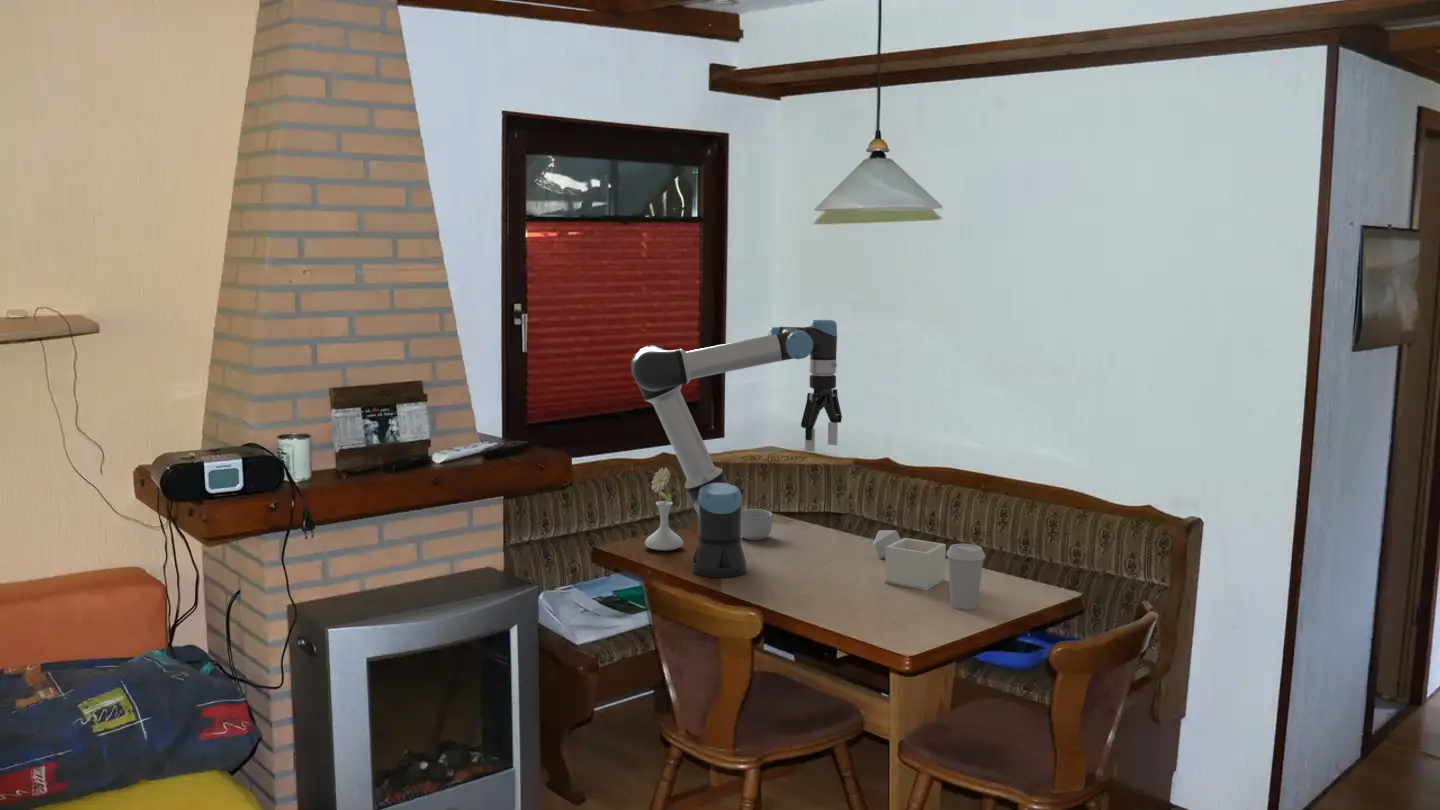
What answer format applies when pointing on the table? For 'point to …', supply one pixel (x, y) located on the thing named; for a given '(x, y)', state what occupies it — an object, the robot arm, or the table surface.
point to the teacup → (755, 524)
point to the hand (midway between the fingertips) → (821, 448)
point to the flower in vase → (663, 517)
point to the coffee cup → (965, 575)
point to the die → (884, 541)
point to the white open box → (915, 564)
